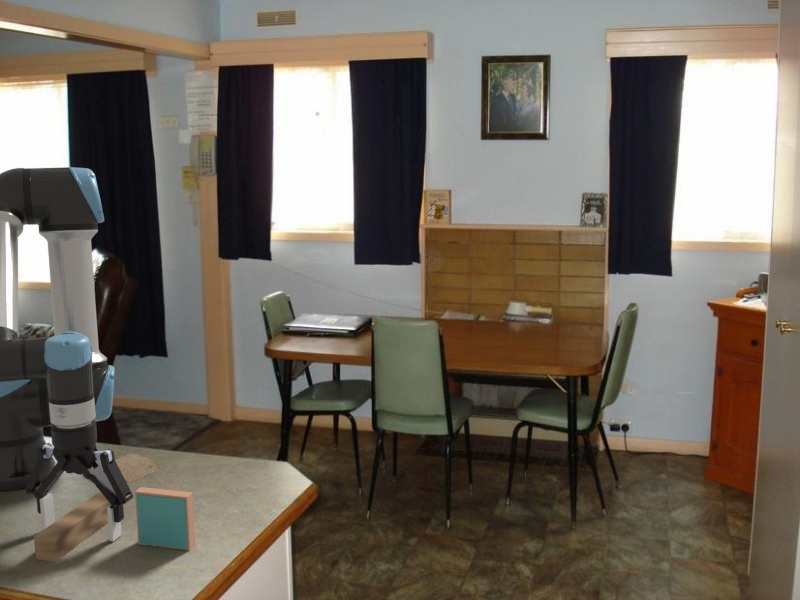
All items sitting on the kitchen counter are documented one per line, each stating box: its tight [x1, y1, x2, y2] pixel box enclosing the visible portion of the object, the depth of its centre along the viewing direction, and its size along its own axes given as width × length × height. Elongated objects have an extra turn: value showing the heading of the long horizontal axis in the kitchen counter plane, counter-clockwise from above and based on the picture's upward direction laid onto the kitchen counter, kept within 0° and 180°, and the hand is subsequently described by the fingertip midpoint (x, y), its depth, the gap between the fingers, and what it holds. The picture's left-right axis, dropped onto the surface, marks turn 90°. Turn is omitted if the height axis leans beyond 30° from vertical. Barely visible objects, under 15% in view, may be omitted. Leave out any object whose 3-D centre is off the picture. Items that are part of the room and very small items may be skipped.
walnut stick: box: [33, 491, 110, 563], centre depth 154 cm, size 20×4×4 cm, turn 165°
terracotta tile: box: [134, 486, 196, 551], centre depth 150 cm, size 2×10×10 cm, turn 76°
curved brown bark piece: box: [90, 453, 162, 484], centre depth 183 cm, size 14×10×3 cm
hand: (82, 534), depth 154 cm, fingers open, 13 cm apart
